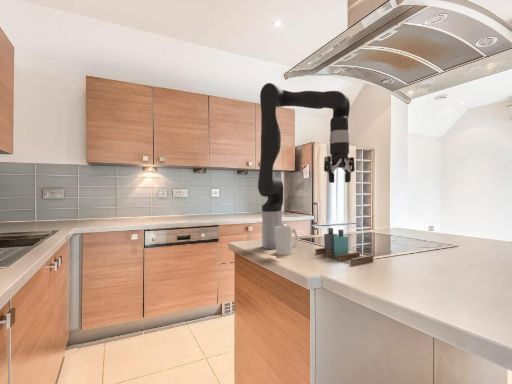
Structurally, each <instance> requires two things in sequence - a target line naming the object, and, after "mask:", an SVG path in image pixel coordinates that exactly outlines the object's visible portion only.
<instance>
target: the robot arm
mask: <svg viewBox="0 0 512 384" xmlns="http://www.w3.org/2000/svg"><path fill="white" fill-rule="evenodd" d="M259 98H260V99H259V101H260V112H261V115H260V116H261V121H260V122H261V123H260V124H261V125H260V127H261V128H260V131H261V133H260V161H259V172H258V173H259V174H258V179H257V180H258V183H257V189H258V193H259V194H260V196H262V197H263V198H267V200H266V202H264V203H263V204H261V220H262V221H261V224H262V225H261V244H262V245H261V246H262V249H266V250H276V235H275V227H276V226H283V224H282V223H283V222H282V221H283V219H282V217H283V216H282V213H283V212H282V207H283V205H284V183H283V181H282V179H281V178H280V177H277V176H273V172H274V171H273V169H274V165H275V162H276V160H277V157H278V156H279V154H280V151H281V141H282V136H281V135H282V133H281V129H280V126H279V122H278V118H277V113H276V112H277V108H278V107H279V108H282V107H300V108H305V109H306V108H307V109H313V110H314V109H315V110H317V109H318V110H321V109H331V110H332V118H331V119H330V123H329V124H330V125H329V129H330V131H329V132H330V134H329V154H330V155H329V156H325V157H324V159H323V160H324V162H323V163H324V164H323V165H324V166H323V171H324V173H328V182H329V183H333V184H334V183H335V171H336V170H337V169H338V168H341V169H342V170H343V172H344V183H350V182H351V175H352V173H353V172H355V169H356V168H355V157H353V156H352V157H351V156H350V157H349V156H348V155H349V154H350V134H349V117H350V116H349V115H350V109H351V106H350V105H351V104H350V98H349V97H348V96H347V94H345V93H344V92H343V91H341V90H340V91H339V90H328V91H327V90H326V91H318V90H303V91H288V90H284V89H282V88H281V87H280V86H278V85H276V84H274V83H271V82H267V83H265V84H264V85H263V86H262V87H261V90H260V93H259Z"/></svg>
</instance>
